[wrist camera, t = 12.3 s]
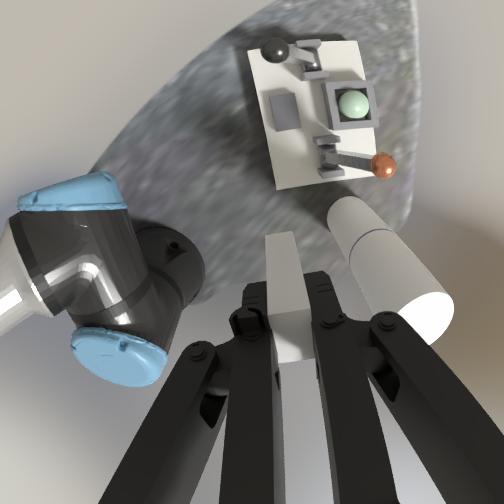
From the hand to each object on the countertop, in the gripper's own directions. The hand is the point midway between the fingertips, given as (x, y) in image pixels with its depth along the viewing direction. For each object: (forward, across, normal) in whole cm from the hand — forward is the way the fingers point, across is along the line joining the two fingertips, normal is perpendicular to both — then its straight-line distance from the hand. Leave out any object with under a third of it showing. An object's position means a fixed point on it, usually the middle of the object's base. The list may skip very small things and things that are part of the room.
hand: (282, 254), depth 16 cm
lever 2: (+24, +8, +1) cm, 25 cm away
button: (+23, +12, +7) cm, 28 cm away
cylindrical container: (+27, +11, -10) cm, 30 cm away
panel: (+26, +8, +7) cm, 28 cm away
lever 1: (+23, +9, +14) cm, 29 cm away
